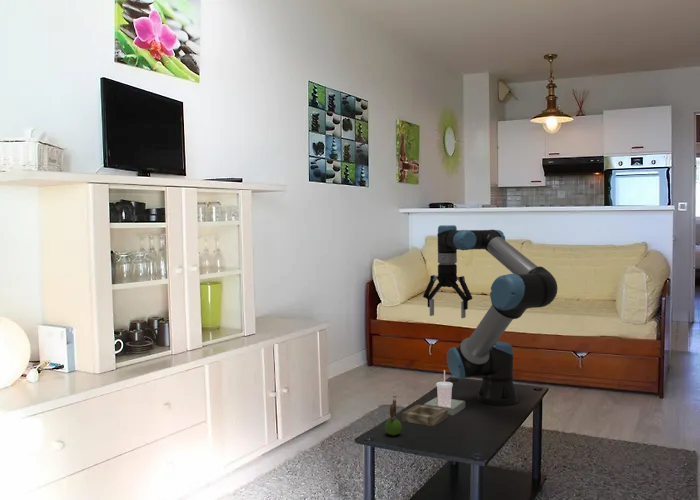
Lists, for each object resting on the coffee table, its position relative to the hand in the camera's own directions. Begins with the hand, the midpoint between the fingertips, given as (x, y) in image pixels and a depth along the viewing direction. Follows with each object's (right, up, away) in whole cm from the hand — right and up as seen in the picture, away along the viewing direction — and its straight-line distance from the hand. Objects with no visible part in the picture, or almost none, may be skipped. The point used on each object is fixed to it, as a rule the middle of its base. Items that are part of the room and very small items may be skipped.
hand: (447, 316), depth 256 cm
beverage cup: (-4, -32, -19) cm, 37 cm away
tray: (-4, -33, -19) cm, 38 cm away
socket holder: (-13, -33, -31) cm, 47 cm away
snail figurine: (-25, -34, -47) cm, 63 cm away
